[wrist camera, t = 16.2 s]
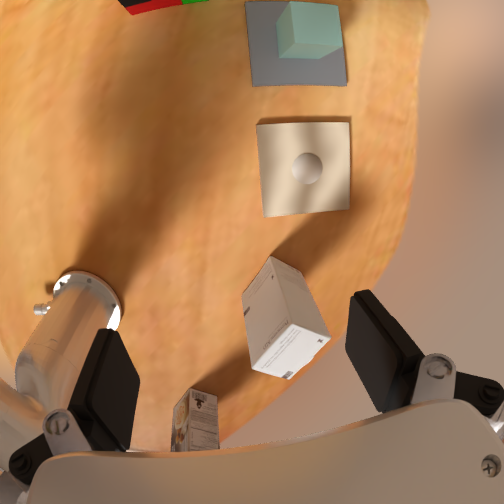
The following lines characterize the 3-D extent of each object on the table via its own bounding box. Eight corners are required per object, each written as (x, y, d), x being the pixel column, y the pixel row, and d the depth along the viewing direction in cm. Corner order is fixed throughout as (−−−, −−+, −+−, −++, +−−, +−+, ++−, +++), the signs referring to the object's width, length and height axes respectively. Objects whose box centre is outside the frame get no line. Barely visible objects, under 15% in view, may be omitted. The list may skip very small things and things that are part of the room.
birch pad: (262, 215, 40) (264, 217, 39) (255, 124, 34) (256, 125, 33) (346, 207, 40) (349, 209, 39) (345, 122, 35) (349, 122, 34)
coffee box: (199, 416, 58) (200, 478, 43) (172, 408, 56) (168, 472, 41) (218, 395, 55) (221, 464, 40) (189, 386, 53) (186, 456, 38)
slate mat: (252, 86, 32) (253, 85, 31) (244, 4, 27) (245, 1, 26) (343, 86, 33) (347, 85, 32) (334, 7, 28) (337, 5, 27)
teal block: (279, 58, 30) (294, 43, 23) (275, 23, 28) (290, 1, 21) (318, 59, 30) (343, 46, 23) (314, 24, 28) (337, 5, 21)
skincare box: (269, 253, 42) (292, 318, 29) (303, 271, 44) (335, 336, 31) (239, 297, 45) (248, 370, 32) (272, 312, 47) (290, 383, 33)
